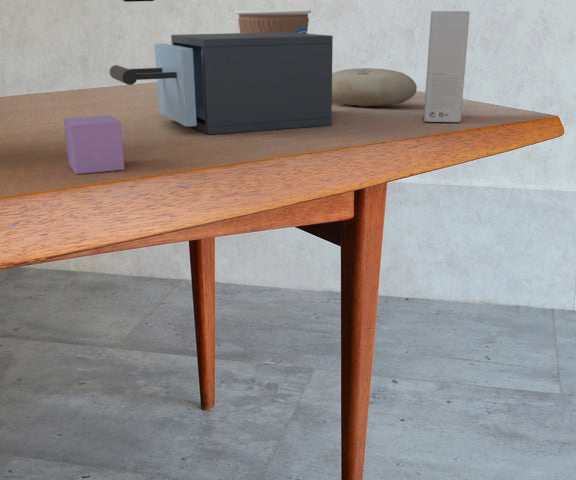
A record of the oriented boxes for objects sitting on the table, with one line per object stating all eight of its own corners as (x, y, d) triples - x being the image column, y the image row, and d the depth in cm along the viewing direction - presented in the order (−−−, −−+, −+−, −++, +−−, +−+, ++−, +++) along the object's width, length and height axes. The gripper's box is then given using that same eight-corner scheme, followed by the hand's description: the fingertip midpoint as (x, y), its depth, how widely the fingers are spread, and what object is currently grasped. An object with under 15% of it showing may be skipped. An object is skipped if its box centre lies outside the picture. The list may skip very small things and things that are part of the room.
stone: (415, 89, 92) (325, 60, 93) (401, 132, 96) (315, 103, 98) (424, 70, 96) (338, 42, 97) (410, 112, 100) (328, 84, 102)
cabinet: (208, 134, 78) (203, 39, 74) (176, 119, 88) (171, 34, 85) (331, 125, 83) (332, 35, 80) (287, 111, 94) (286, 32, 90)
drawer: (131, 130, 75) (124, 50, 72) (110, 116, 85) (103, 45, 82) (302, 118, 82) (302, 44, 79) (265, 106, 92) (263, 40, 89)
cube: (76, 174, 60) (70, 124, 59) (69, 165, 64) (63, 118, 62) (124, 169, 62) (120, 121, 60) (115, 161, 65) (111, 115, 64)
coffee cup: (288, 107, 97) (287, 10, 93) (224, 102, 102) (220, 10, 98) (323, 98, 106) (324, 9, 101) (262, 95, 111) (261, 9, 106)
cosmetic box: (461, 123, 84) (470, 10, 79) (423, 122, 84) (430, 11, 80) (459, 115, 89) (467, 10, 85) (423, 115, 90) (430, 10, 86)
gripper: (69, -192, 75) (90, 2, 82) (95, -232, 62) (117, 1, 69) (142, -186, 78) (156, 1, 84) (181, -223, 65) (194, 0, 72)
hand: (139, 0), depth 77 cm, fingers closed
